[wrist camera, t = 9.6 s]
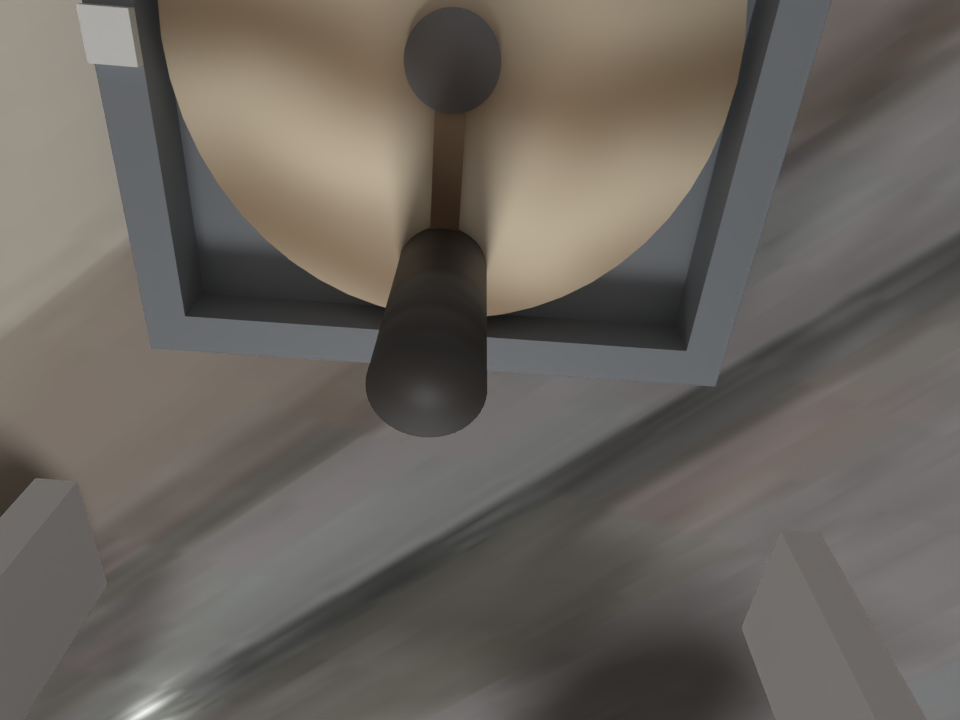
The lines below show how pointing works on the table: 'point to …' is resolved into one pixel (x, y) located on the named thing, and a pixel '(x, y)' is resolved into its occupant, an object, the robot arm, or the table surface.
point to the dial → (452, 153)
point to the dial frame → (510, 337)
